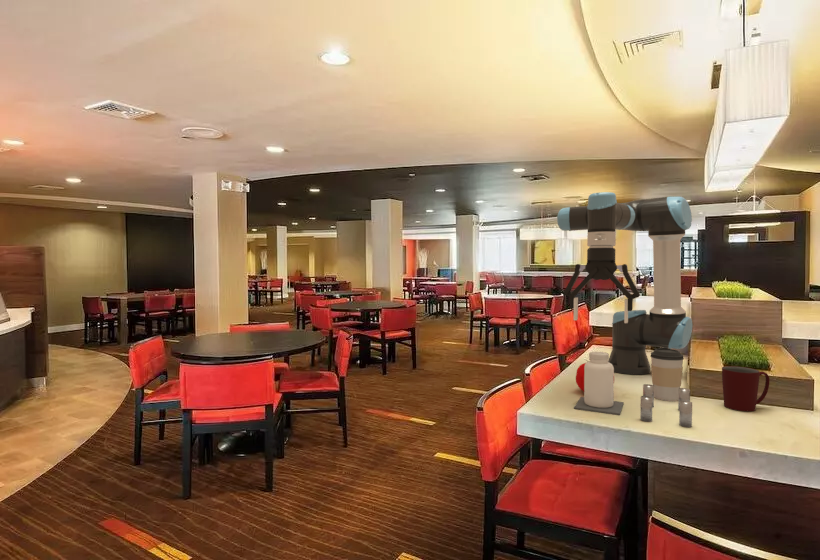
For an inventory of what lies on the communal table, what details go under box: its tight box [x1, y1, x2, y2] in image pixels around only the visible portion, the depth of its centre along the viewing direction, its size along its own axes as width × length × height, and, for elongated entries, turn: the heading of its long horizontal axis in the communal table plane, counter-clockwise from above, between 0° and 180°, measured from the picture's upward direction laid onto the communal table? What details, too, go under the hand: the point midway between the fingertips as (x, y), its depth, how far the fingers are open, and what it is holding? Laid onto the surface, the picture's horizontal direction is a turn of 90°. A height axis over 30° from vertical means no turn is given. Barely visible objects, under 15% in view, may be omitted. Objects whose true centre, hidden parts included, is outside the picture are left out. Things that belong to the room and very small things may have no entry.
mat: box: [573, 396, 625, 416], centre depth 139 cm, size 12×12×1 cm
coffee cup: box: [650, 347, 684, 402], centre depth 147 cm, size 9×9×15 cm
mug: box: [721, 365, 770, 412], centre depth 137 cm, size 12×9×11 cm
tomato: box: [575, 359, 588, 393], centre depth 152 cm, size 12×12×10 cm
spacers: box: [639, 383, 693, 428], centre depth 131 cm, size 17×12×6 cm
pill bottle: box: [583, 351, 615, 408], centre depth 139 cm, size 8×8×15 cm
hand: (600, 321), depth 138 cm, fingers open, 13 cm apart
